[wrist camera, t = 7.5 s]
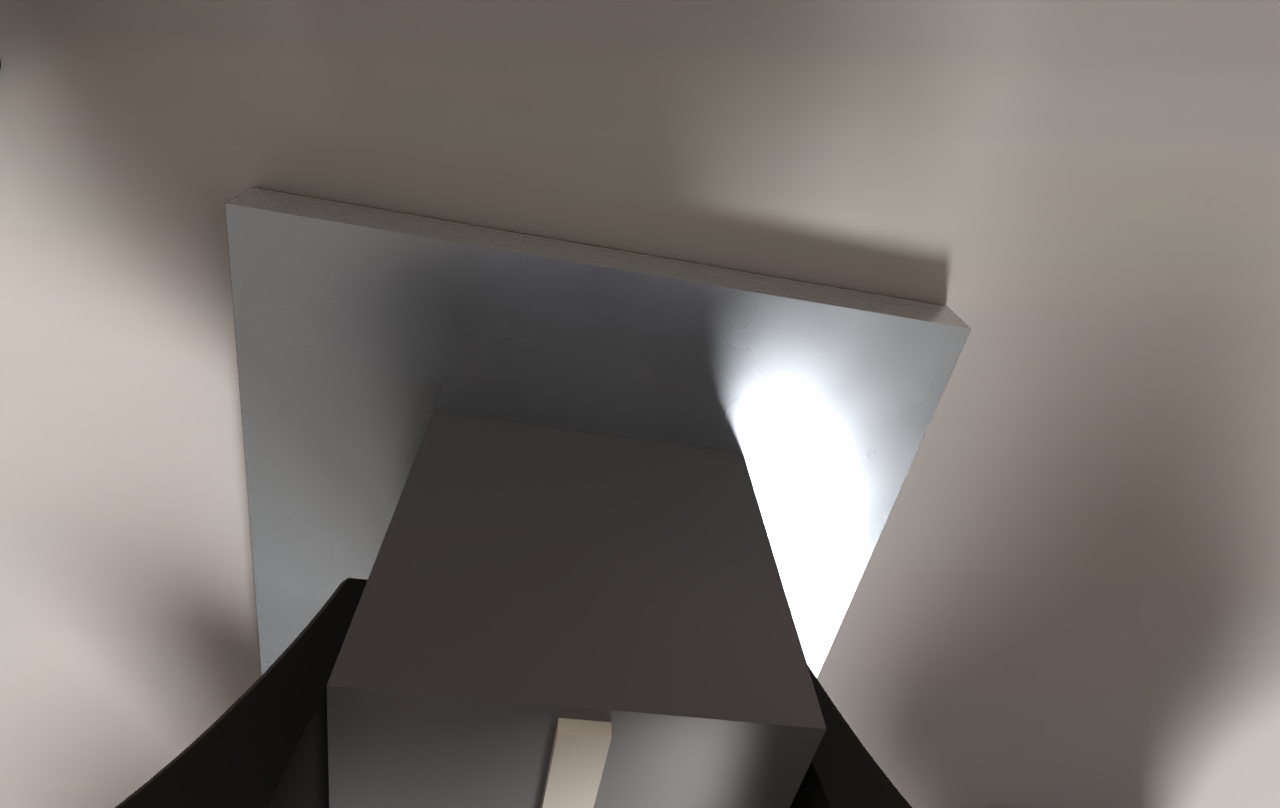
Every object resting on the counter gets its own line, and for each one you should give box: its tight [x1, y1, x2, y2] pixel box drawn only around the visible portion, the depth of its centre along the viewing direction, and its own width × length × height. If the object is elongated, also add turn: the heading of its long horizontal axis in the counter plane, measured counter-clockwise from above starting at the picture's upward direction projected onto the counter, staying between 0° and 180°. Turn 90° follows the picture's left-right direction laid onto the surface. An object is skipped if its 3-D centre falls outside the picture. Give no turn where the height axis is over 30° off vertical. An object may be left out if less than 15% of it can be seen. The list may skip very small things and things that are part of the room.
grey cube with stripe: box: [327, 412, 827, 808], centre depth 12 cm, size 6×6×6 cm
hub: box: [225, 187, 971, 678], centre depth 13 cm, size 12×12×5 cm
